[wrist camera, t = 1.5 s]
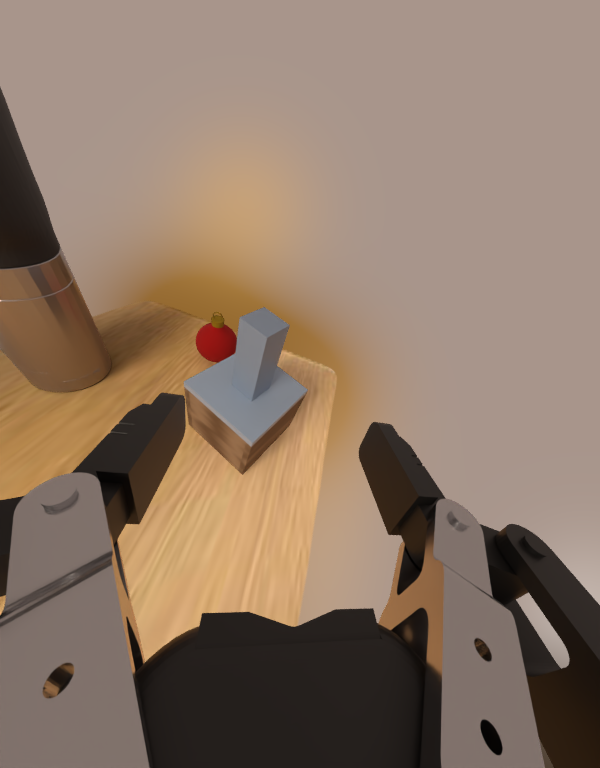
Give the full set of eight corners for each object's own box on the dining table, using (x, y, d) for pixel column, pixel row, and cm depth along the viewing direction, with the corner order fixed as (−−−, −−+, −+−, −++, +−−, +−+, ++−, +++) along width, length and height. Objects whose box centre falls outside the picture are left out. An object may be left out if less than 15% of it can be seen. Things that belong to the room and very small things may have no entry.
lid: (185, 393, 28) (174, 306, 19) (248, 356, 35) (261, 281, 26) (249, 452, 26) (271, 384, 17) (302, 399, 33) (337, 333, 24)
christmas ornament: (190, 364, 41) (186, 317, 33) (204, 340, 45) (203, 294, 38) (230, 374, 42) (234, 331, 35) (239, 349, 47) (245, 307, 39)
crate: (189, 424, 34) (184, 386, 27) (242, 386, 41) (249, 350, 34) (242, 474, 31) (251, 447, 25) (289, 425, 39) (305, 394, 32)
